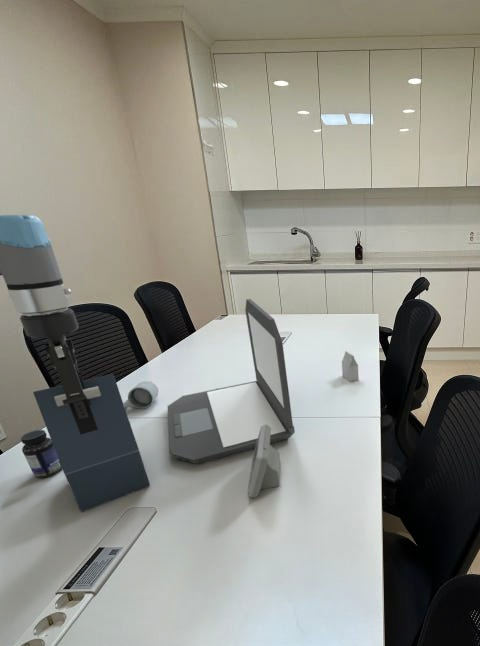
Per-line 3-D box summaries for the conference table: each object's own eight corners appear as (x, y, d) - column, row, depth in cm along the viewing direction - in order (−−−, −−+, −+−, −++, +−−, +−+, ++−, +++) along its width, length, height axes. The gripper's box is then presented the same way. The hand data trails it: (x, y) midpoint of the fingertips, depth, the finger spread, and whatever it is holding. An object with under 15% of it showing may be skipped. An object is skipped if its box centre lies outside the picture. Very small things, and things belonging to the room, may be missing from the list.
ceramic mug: (162, 397, 137) (156, 377, 134) (155, 407, 130) (149, 386, 127) (129, 401, 135) (122, 381, 132) (121, 411, 128) (114, 390, 125)
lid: (33, 391, 77) (27, 394, 70) (113, 373, 85) (115, 374, 78) (64, 473, 81) (62, 483, 74) (138, 449, 88) (142, 456, 81)
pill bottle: (63, 461, 102) (48, 425, 98) (65, 472, 98) (49, 434, 94) (34, 471, 99) (16, 434, 94) (34, 482, 95) (16, 444, 90)
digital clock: (255, 458, 101) (249, 423, 97) (289, 457, 101) (284, 422, 97) (235, 500, 87) (226, 461, 82) (275, 499, 87) (268, 460, 82)
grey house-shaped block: (349, 381, 146) (348, 356, 142) (342, 375, 151) (341, 351, 147) (358, 379, 147) (357, 355, 143) (351, 373, 153) (349, 349, 149)
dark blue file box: (75, 475, 97) (61, 442, 93) (137, 455, 104) (127, 423, 100) (80, 512, 85) (65, 475, 80) (150, 485, 92) (139, 451, 88)
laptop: (168, 405, 131) (142, 307, 118) (261, 385, 144) (247, 295, 131) (174, 473, 96) (137, 345, 83) (295, 439, 109) (281, 324, 96)
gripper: (77, 320, 61) (117, 436, 69) (68, 297, 78) (101, 392, 87) (15, 329, 56) (66, 452, 65) (20, 303, 74) (60, 402, 83)
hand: (86, 418), depth 76 cm, fingers open, 13 cm apart
